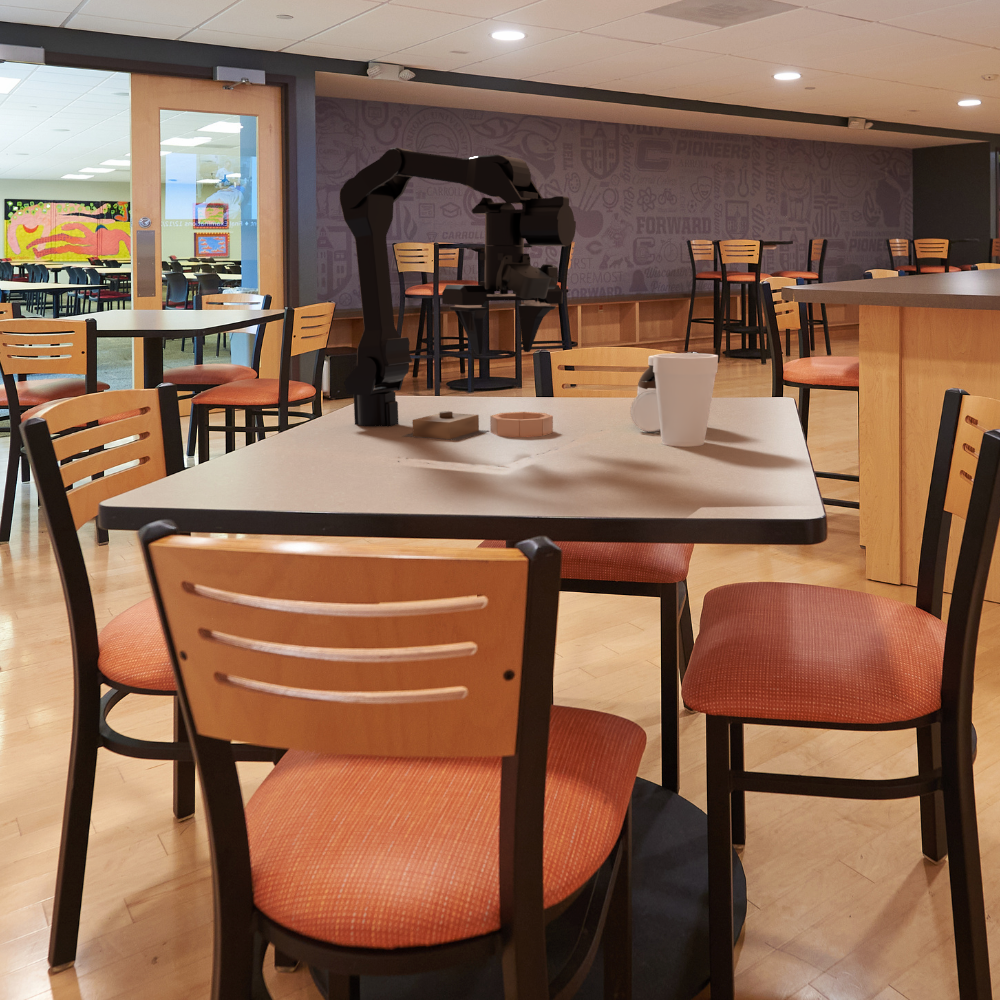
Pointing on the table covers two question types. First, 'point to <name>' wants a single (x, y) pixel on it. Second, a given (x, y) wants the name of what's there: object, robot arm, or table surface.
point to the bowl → (521, 424)
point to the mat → (455, 437)
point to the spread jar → (646, 402)
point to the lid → (445, 425)
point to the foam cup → (684, 396)
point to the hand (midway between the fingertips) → (503, 353)
